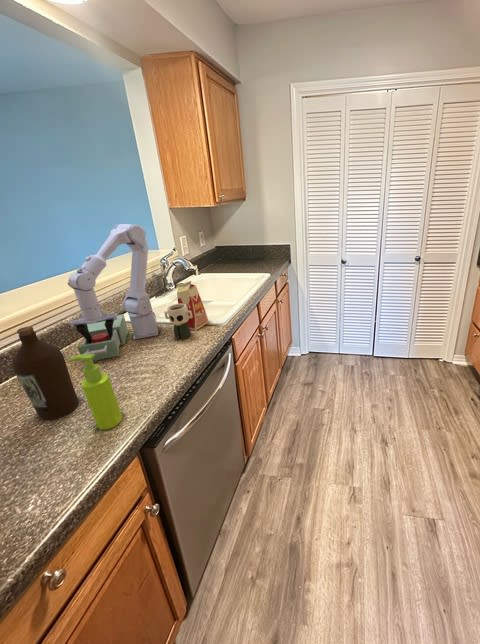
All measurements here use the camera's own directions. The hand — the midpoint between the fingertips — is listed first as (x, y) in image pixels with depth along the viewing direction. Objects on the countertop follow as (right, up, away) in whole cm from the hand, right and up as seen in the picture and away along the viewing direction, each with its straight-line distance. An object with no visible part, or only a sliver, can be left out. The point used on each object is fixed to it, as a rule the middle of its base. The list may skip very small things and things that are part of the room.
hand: (101, 340), depth 119 cm
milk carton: (+27, +5, +22) cm, 35 cm away
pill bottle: (+1, +9, +33) cm, 34 cm away
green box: (-4, -1, +11) cm, 12 cm away
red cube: (0, -3, +1) cm, 3 cm away
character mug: (+26, +1, +12) cm, 29 cm away
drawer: (+1, -5, -1) cm, 5 cm away
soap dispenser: (+23, -19, -34) cm, 45 cm away
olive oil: (+5, -18, -28) cm, 33 cm away
